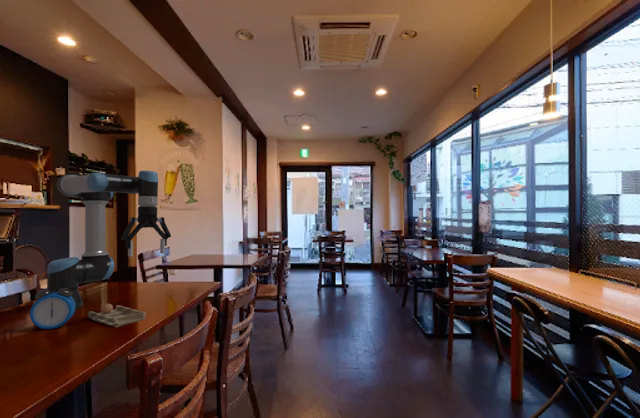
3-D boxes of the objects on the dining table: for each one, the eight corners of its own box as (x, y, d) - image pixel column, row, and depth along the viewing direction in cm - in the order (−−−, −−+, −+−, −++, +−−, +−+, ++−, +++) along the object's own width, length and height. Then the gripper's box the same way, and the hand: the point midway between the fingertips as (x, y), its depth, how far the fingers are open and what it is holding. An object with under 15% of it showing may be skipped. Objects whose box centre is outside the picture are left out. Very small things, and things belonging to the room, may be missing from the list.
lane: (88, 318, 137) (88, 311, 138) (118, 311, 148) (118, 304, 148) (115, 327, 126) (115, 319, 126) (145, 319, 136) (145, 311, 136)
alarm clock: (28, 332, 121) (29, 292, 121) (35, 327, 126) (36, 288, 127) (71, 327, 126) (72, 288, 127) (75, 322, 132) (76, 285, 132)
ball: (100, 313, 140) (100, 304, 140) (109, 311, 144) (110, 302, 144) (104, 314, 138) (104, 305, 138) (114, 312, 142) (114, 303, 142)
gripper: (120, 205, 128) (119, 258, 128) (179, 206, 148) (178, 252, 148) (112, 205, 133) (111, 257, 132) (171, 207, 153) (170, 251, 152)
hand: (147, 255), depth 140 cm, fingers open, 13 cm apart
